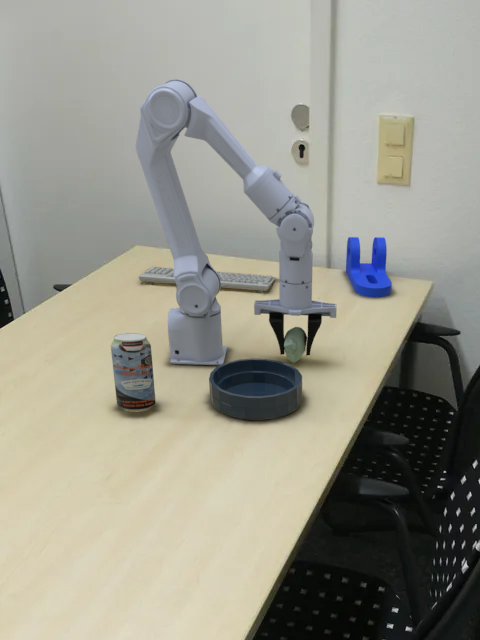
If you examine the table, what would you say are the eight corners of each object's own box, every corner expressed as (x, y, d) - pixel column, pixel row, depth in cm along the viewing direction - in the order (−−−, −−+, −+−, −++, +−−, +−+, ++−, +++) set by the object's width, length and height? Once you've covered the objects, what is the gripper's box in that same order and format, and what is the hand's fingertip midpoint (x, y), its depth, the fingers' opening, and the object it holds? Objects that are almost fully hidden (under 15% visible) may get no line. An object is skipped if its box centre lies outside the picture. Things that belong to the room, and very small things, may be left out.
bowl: (205, 419, 124) (203, 395, 122) (216, 379, 136) (214, 356, 134) (300, 422, 125) (300, 399, 123) (302, 382, 137) (303, 360, 135)
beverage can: (118, 419, 123) (107, 347, 116) (117, 398, 128) (107, 328, 121) (158, 416, 124) (151, 344, 117) (156, 395, 130) (148, 326, 123)
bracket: (345, 271, 188) (347, 233, 183) (379, 271, 190) (381, 233, 185) (357, 297, 174) (360, 256, 169) (393, 297, 176) (397, 256, 170)
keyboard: (275, 279, 181) (275, 270, 180) (268, 294, 173) (268, 285, 172) (152, 269, 182) (151, 261, 181) (139, 284, 173) (138, 275, 172)
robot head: (288, 353, 147) (288, 318, 143) (310, 355, 147) (310, 320, 143) (280, 370, 141) (279, 334, 137) (302, 372, 141) (302, 336, 137)
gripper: (252, 284, 131) (254, 360, 139) (337, 288, 132) (334, 363, 140) (255, 271, 137) (256, 344, 145) (337, 275, 138) (334, 347, 146)
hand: (295, 353), depth 143 cm, fingers closed on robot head, 4 cm apart
